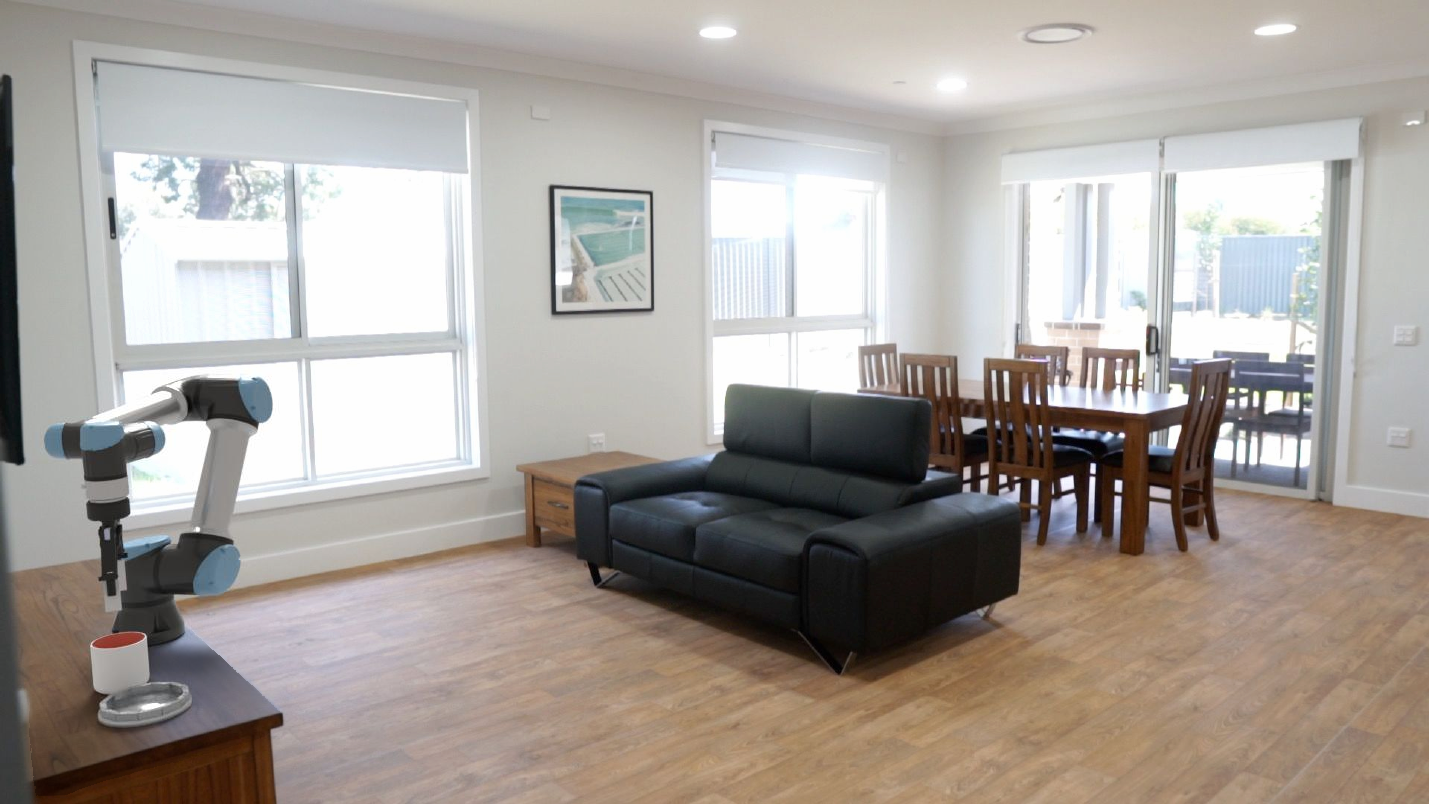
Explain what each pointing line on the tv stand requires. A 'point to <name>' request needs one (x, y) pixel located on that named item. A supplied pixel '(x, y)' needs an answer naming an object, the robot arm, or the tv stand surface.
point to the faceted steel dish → (144, 704)
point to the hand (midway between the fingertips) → (116, 600)
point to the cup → (119, 661)
